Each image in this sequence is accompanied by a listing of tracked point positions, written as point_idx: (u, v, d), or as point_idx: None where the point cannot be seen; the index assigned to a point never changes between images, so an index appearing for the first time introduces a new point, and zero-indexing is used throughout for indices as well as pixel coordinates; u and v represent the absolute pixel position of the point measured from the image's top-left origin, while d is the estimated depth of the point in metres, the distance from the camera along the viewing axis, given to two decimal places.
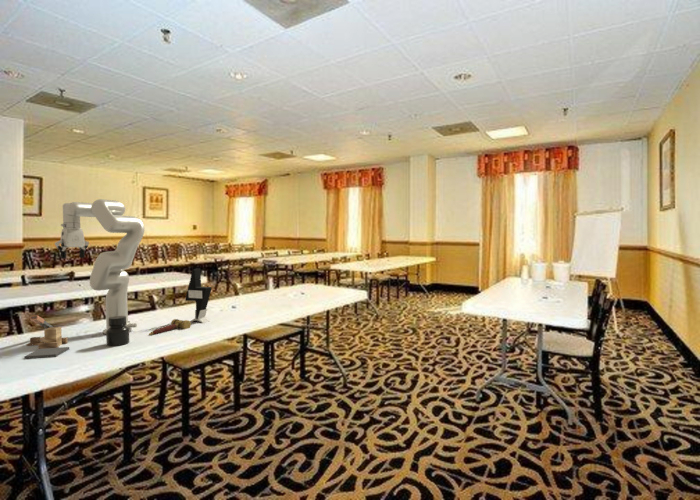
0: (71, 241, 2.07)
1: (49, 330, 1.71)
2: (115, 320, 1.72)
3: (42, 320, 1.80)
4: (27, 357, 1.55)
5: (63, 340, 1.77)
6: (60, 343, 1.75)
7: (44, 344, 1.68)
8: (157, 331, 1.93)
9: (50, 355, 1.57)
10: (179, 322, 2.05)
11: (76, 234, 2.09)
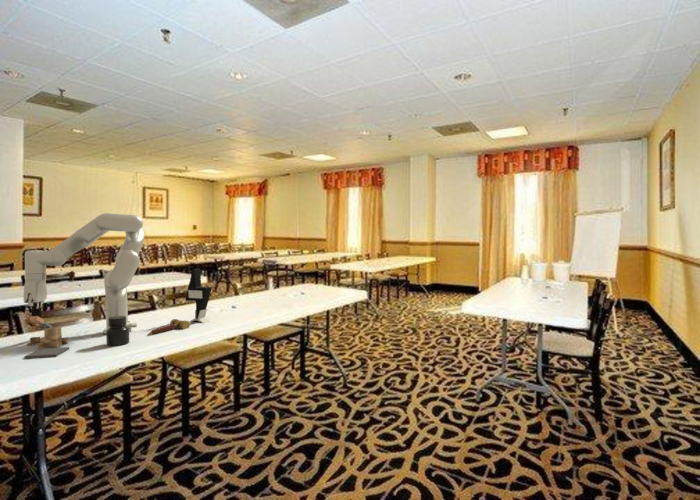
0: None
1: (49, 330, 1.71)
2: (115, 320, 1.72)
3: (42, 320, 1.80)
4: (27, 357, 1.55)
5: (63, 340, 1.77)
6: (60, 343, 1.75)
7: (44, 344, 1.68)
8: (156, 331, 1.93)
9: (50, 355, 1.57)
10: (178, 322, 2.05)
11: None
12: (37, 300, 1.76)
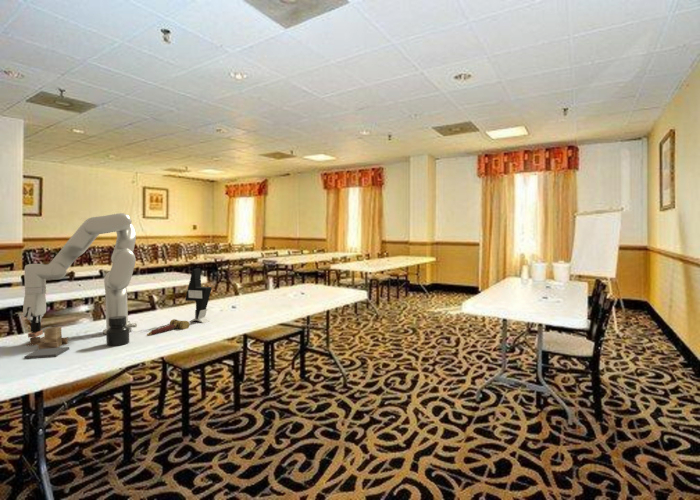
0: None
1: (49, 330, 1.71)
2: (115, 320, 1.72)
3: (41, 332, 1.79)
4: (27, 357, 1.55)
5: (63, 340, 1.77)
6: (60, 343, 1.75)
7: (44, 344, 1.68)
8: (155, 331, 1.92)
9: (50, 355, 1.57)
10: (178, 322, 2.04)
11: None
12: (36, 314, 1.76)
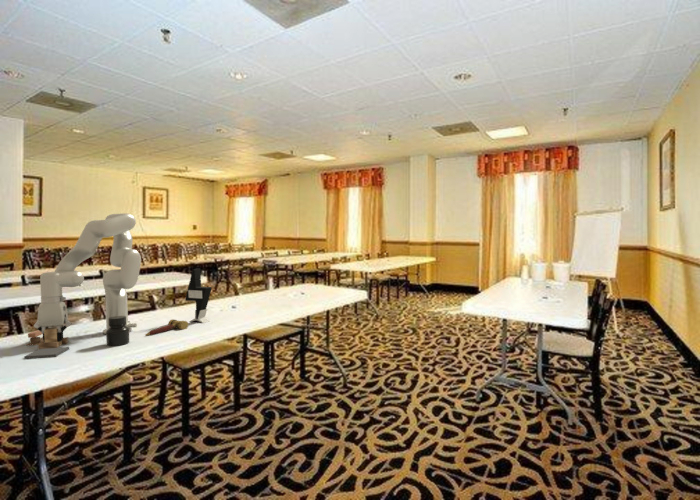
0: None
1: (49, 330, 1.70)
2: (115, 320, 1.72)
3: None
4: (27, 357, 1.55)
5: (63, 340, 1.77)
6: (60, 343, 1.75)
7: (44, 344, 1.68)
8: (154, 332, 1.92)
9: (50, 355, 1.57)
10: (176, 322, 2.04)
11: None
12: (41, 324, 1.70)
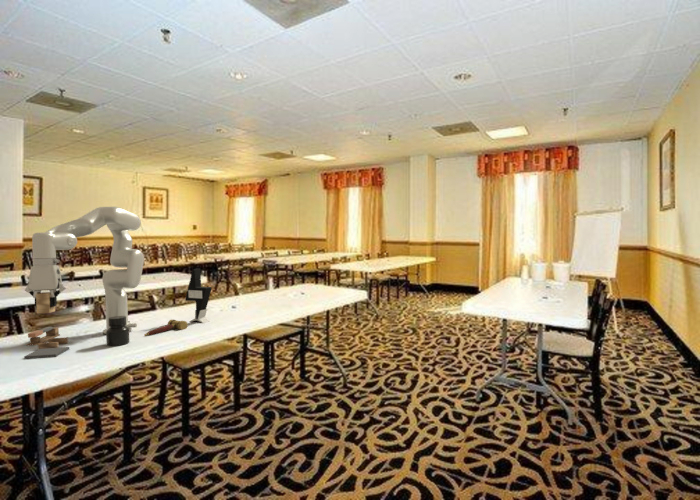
0: None
1: (41, 294, 1.58)
2: (115, 320, 1.72)
3: (41, 332, 1.79)
4: (27, 357, 1.55)
5: (63, 340, 1.77)
6: (53, 309, 1.62)
7: (44, 344, 1.68)
8: (153, 332, 1.92)
9: (50, 355, 1.57)
10: (176, 322, 2.04)
11: None
12: (33, 288, 1.58)
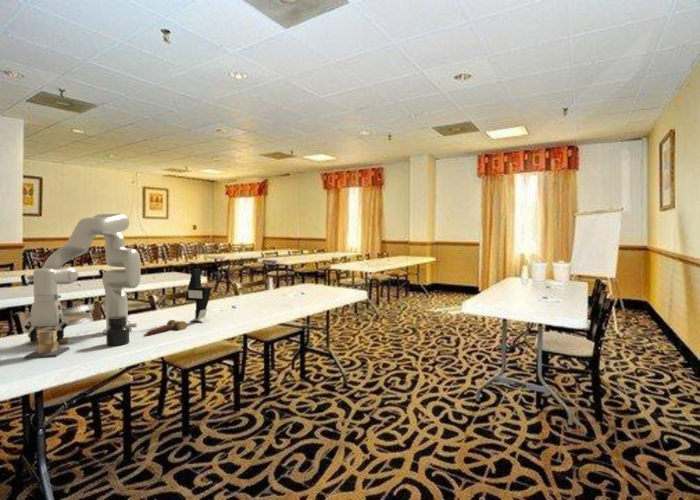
0: None
1: (43, 334, 1.59)
2: (115, 320, 1.72)
3: None
4: (27, 357, 1.55)
5: (63, 340, 1.77)
6: (55, 348, 1.63)
7: None
8: (152, 332, 1.91)
9: (50, 355, 1.57)
10: (175, 323, 2.03)
11: None
12: (34, 324, 1.58)
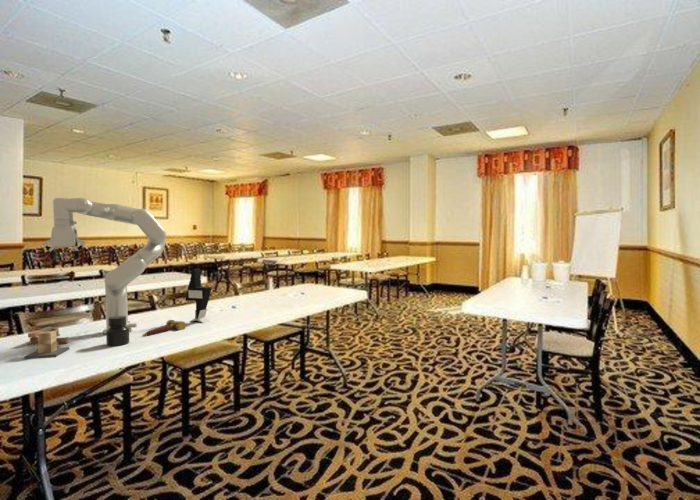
0: None
1: (43, 334, 1.59)
2: (115, 320, 1.72)
3: None
4: (27, 357, 1.55)
5: (63, 340, 1.77)
6: (55, 348, 1.63)
7: None
8: (151, 332, 1.91)
9: (50, 355, 1.57)
10: (174, 323, 2.03)
11: None
12: (54, 245, 1.85)
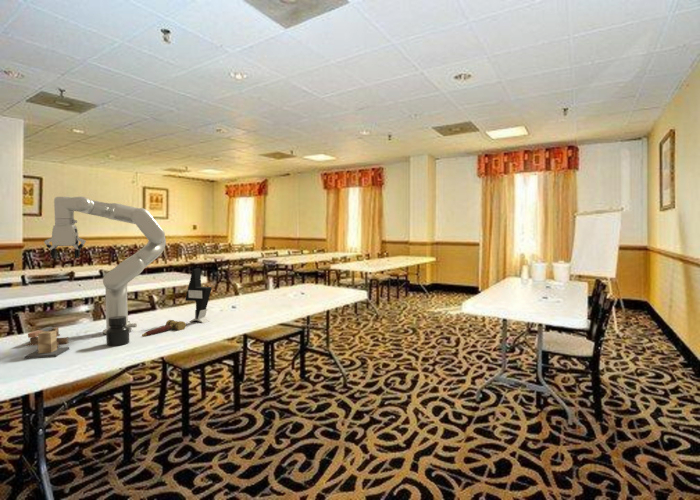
0: None
1: (43, 334, 1.59)
2: (115, 320, 1.72)
3: None
4: (27, 357, 1.55)
5: (63, 340, 1.77)
6: (55, 348, 1.63)
7: None
8: (150, 332, 1.91)
9: (50, 355, 1.57)
10: (174, 323, 2.03)
11: None
12: (55, 243, 1.86)
